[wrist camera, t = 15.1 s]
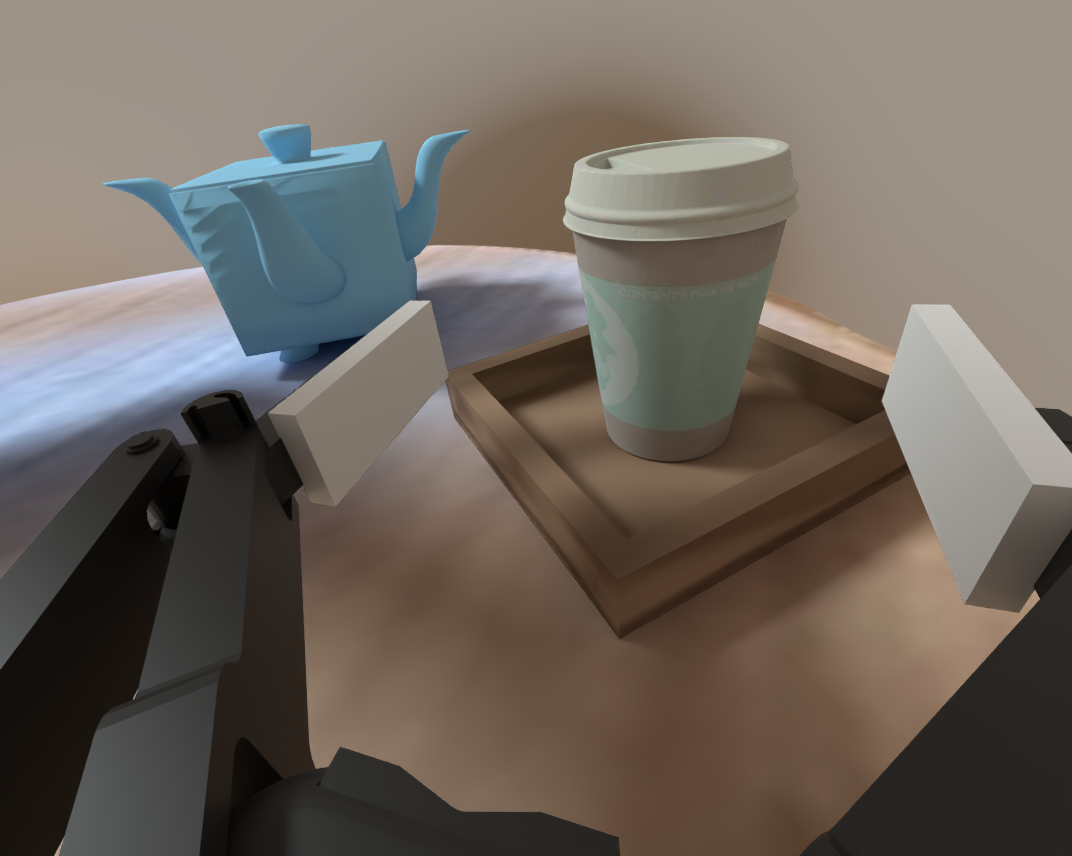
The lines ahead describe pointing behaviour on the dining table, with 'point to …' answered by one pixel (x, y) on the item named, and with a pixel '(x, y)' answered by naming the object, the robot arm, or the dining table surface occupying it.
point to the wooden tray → (676, 466)
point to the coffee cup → (677, 280)
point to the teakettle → (305, 237)
